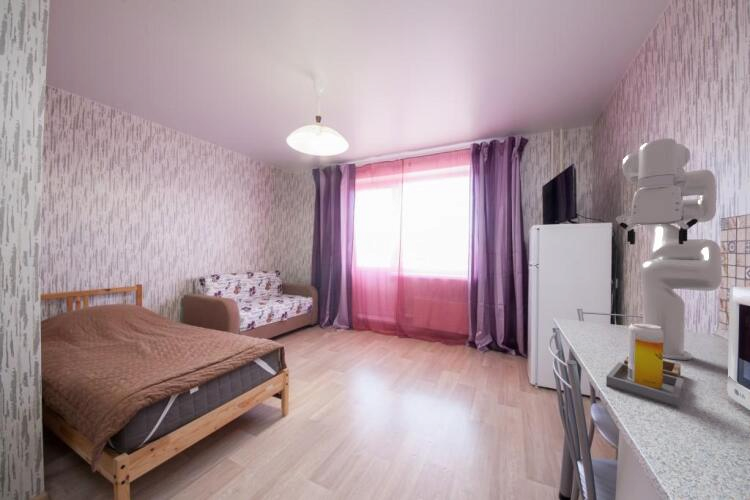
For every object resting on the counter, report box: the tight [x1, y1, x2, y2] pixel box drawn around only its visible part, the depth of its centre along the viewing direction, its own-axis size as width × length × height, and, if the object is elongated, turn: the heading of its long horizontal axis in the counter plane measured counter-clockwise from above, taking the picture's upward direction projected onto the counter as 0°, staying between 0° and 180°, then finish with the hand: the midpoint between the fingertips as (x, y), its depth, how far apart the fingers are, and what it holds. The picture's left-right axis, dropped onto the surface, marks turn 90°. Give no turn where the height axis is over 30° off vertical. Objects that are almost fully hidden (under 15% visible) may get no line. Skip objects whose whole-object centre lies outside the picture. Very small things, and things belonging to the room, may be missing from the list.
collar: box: [623, 356, 682, 378], centre depth 74 cm, size 10×10×3 cm
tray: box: [605, 361, 684, 410], centre depth 66 cm, size 14×12×2 cm
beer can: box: [627, 321, 664, 390], centre depth 66 cm, size 6×6×15 cm
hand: (655, 244), depth 76 cm, fingers open, 9 cm apart
